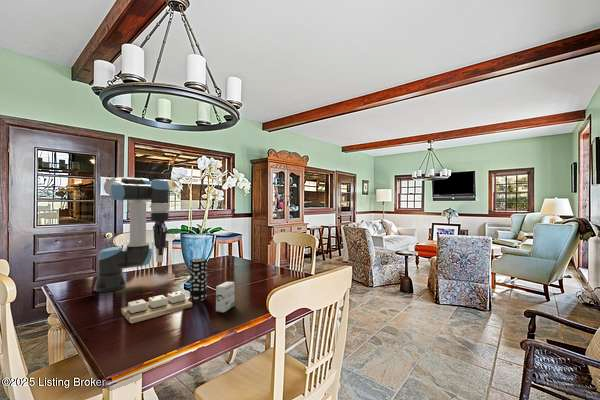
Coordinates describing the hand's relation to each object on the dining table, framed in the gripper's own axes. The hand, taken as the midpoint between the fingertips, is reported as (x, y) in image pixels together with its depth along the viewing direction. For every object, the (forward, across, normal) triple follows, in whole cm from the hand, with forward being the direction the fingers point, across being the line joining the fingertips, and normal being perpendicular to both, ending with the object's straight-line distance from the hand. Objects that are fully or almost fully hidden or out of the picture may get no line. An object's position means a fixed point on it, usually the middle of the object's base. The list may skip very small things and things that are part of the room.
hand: (159, 261), depth 131 cm
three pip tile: (+20, +1, +7) cm, 21 cm away
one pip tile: (+20, +1, -10) cm, 22 cm away
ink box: (+23, +22, +23) cm, 39 cm away
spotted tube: (+22, 0, +19) cm, 29 cm away
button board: (+22, +1, -1) cm, 22 cm away
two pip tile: (+20, +1, -1) cm, 20 cm away
